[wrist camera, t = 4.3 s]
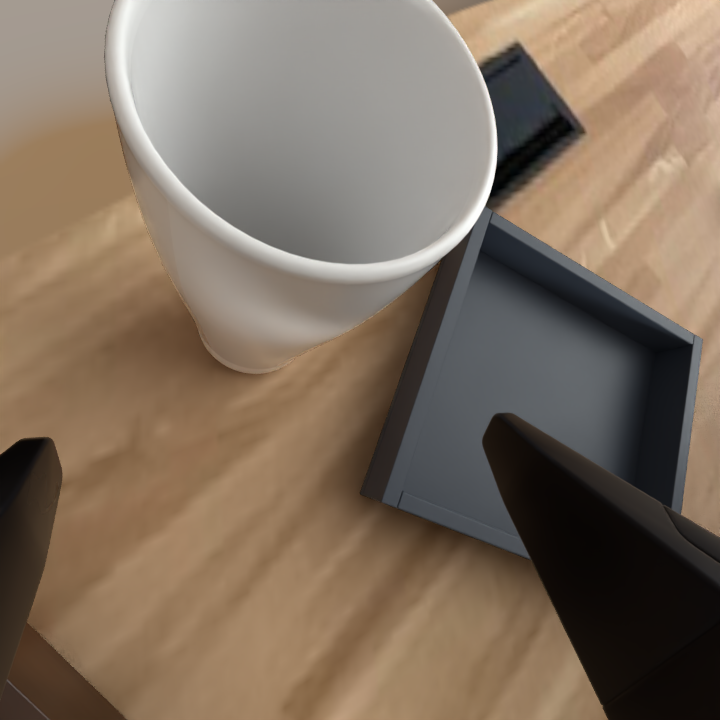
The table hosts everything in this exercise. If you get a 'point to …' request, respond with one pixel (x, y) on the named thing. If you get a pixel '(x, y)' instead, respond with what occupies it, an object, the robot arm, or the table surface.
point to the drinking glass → (297, 158)
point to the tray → (531, 382)
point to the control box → (49, 687)
